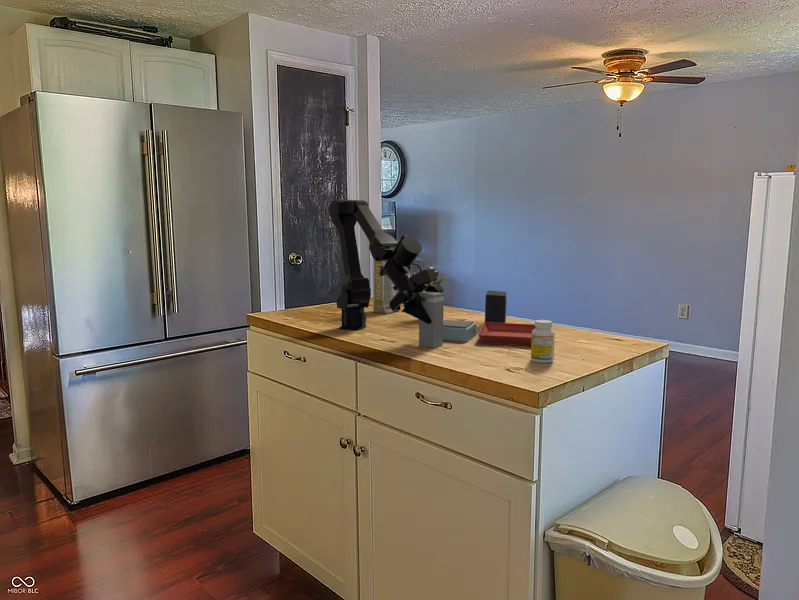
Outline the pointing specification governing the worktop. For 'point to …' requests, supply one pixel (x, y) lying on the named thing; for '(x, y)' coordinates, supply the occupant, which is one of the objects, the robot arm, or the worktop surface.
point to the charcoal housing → (434, 331)
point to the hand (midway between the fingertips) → (435, 321)
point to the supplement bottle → (542, 342)
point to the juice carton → (382, 289)
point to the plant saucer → (506, 333)
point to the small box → (496, 306)
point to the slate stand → (459, 330)
